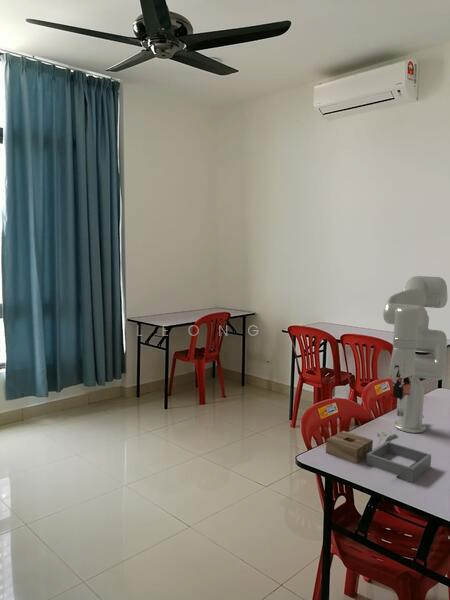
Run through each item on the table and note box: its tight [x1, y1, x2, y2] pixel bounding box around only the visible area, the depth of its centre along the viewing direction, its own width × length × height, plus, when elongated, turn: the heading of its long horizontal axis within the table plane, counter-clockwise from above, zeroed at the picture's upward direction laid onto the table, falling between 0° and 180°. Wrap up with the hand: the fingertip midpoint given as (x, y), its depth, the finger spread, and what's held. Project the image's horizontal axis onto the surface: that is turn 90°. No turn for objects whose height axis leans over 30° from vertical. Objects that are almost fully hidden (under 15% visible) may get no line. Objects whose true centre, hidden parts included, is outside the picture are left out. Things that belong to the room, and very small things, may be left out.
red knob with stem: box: [395, 382, 410, 417], centre depth 164 cm, size 5×5×11 cm
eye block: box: [325, 430, 374, 464], centre depth 174 cm, size 12×12×6 cm
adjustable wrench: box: [373, 429, 396, 450], centre depth 187 cm, size 25×6×2 cm, turn 147°
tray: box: [365, 440, 432, 484], centre depth 166 cm, size 16×16×4 cm
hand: (401, 395), depth 164 cm, fingers closed on red knob with stem, 5 cm apart
